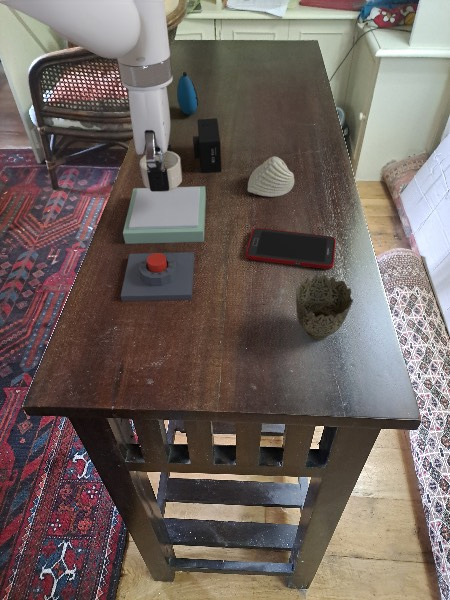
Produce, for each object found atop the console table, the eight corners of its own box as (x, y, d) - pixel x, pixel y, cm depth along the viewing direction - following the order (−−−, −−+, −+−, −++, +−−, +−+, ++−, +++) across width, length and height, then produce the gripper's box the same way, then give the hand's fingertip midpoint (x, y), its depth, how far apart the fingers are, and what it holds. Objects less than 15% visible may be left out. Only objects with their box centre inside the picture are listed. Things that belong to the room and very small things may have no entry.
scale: (125, 244, 81) (122, 230, 79) (135, 198, 91) (132, 185, 89) (204, 242, 81) (202, 228, 79) (205, 196, 90) (205, 183, 88)
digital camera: (194, 149, 104) (191, 119, 98) (218, 147, 104) (217, 117, 99) (195, 173, 96) (193, 142, 91) (221, 171, 97) (220, 140, 91)
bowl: (141, 194, 78) (137, 172, 75) (146, 172, 83) (142, 151, 79) (181, 192, 78) (178, 171, 75) (183, 171, 82) (181, 149, 79)
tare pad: (121, 301, 71) (118, 287, 69) (130, 258, 78) (127, 245, 76) (192, 299, 71) (190, 286, 69) (194, 257, 78) (193, 243, 76)
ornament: (203, 118, 114) (200, 76, 106) (185, 121, 112) (181, 79, 105) (191, 105, 119) (188, 64, 112) (175, 108, 118) (170, 67, 110)
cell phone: (252, 231, 82) (252, 227, 82) (335, 241, 80) (336, 236, 79) (244, 259, 77) (244, 255, 76) (332, 270, 75) (333, 266, 74)
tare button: (147, 273, 72) (145, 265, 71) (149, 260, 74) (147, 253, 73) (166, 272, 72) (165, 265, 71) (167, 260, 74) (166, 252, 73)
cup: (290, 312, 69) (295, 273, 63) (340, 313, 68) (349, 274, 63) (292, 351, 64) (297, 314, 58) (346, 353, 63) (356, 315, 58)
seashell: (308, 179, 89) (285, 175, 83) (279, 208, 94) (256, 206, 88) (287, 148, 92) (264, 142, 86) (260, 178, 97) (236, 174, 91)
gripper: (128, 50, 72) (146, 153, 85) (110, 96, 61) (134, 208, 74) (175, 48, 72) (186, 152, 85) (166, 94, 60) (180, 206, 73)
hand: (162, 177), depth 79 cm, fingers closed on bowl, 6 cm apart
